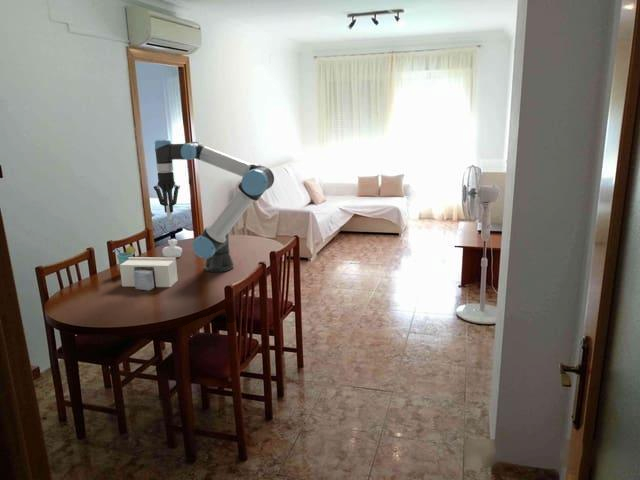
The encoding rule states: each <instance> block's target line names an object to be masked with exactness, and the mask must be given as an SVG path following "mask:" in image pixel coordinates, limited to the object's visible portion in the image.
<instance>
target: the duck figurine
mask: <svg viewBox="0 0 640 480" xmlns="http://www.w3.org/2000/svg"><path fill="white" fill-rule="evenodd" d="M167 243H168V244H169V246H165V247H163V248H162V249H161V250H162V255H163V257H164V258H180V257H181V255H182V252H183V248H182V247H180V246H178V240H177V239H176V238H171V239H168V240H167Z"/></svg>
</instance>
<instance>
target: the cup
mask: <svg viewBox="0 0 640 480" xmlns="http://www.w3.org/2000/svg"><path fill="white" fill-rule="evenodd" d="M111 252H112V253H115V252H118V254H117V255H116V257H117V258H118V259H117V260H118V263H119V265H120V264H122V263H124V262H125V261H127V260H128V258H129V257H134V255H135V254H136V248H135V246H131V245H129V246H128V247H126V250H125V252H121V250H120V249H119V248H115V249H114V250H112V251H111Z"/></svg>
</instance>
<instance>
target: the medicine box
mask: <svg viewBox="0 0 640 480" xmlns="http://www.w3.org/2000/svg"><path fill="white" fill-rule="evenodd" d="M134 281H135V290H141V291H143V290H144V291H151V290H153V289H155V284H154V280H153V271H149V270H137V271H135V272H134Z"/></svg>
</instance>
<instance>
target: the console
mask: <svg viewBox="0 0 640 480" xmlns="http://www.w3.org/2000/svg"><path fill="white" fill-rule="evenodd" d="M177 268H178V266H177V257H175V258H173V257H169V258H168V257H161V256H160V257H157V256H156V257H152V256H151V257H143V256H139V257H137V256H132V257H129V258H128V260H127V261H125V262H124V263H122V264H119V271H120V279H121V286H122V287H135V281H134V272H135V271H137V270H149V271H153V280H154V285H155V287H156V288H171V287H172V286H174V284H176V282H179V281H178V279H179V278H178V269H177Z"/></svg>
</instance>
